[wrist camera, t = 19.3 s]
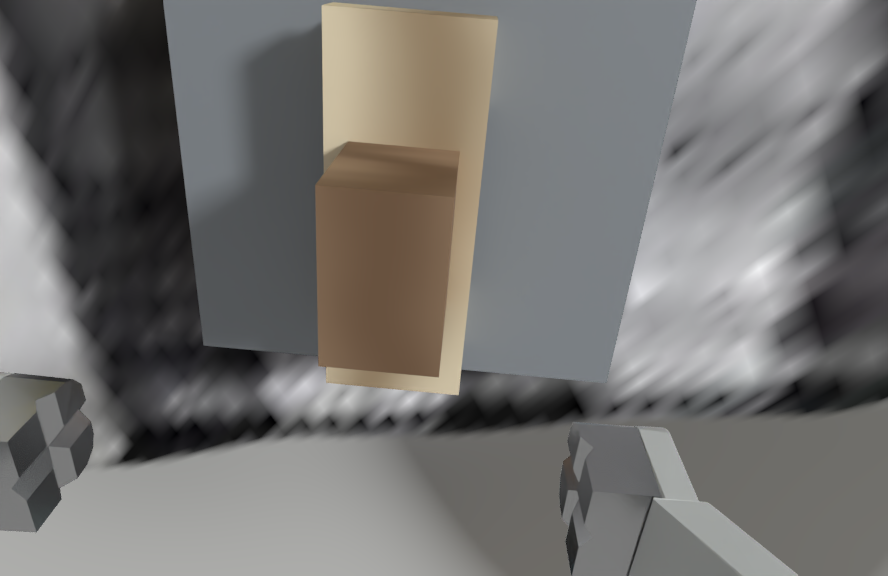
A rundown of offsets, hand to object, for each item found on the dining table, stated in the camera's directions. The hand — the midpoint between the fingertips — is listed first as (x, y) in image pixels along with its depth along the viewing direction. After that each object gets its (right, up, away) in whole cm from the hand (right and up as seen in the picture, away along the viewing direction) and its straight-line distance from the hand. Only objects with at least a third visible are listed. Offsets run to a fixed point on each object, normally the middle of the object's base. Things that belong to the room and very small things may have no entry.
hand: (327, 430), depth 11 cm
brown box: (+1, +4, +9) cm, 10 cm away
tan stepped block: (+1, +6, +11) cm, 13 cm away
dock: (+1, +7, +15) cm, 17 cm away
